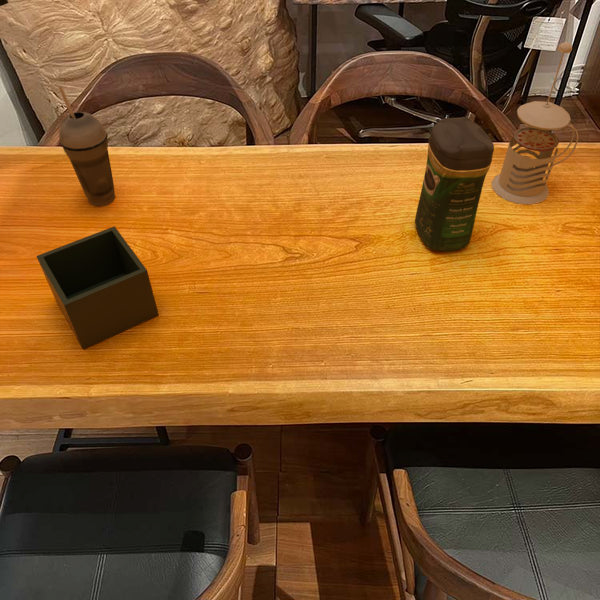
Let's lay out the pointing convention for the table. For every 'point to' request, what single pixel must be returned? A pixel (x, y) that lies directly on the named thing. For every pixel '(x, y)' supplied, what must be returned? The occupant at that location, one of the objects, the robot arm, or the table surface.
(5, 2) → the robot arm
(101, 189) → the beverage cup
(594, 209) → the table surface
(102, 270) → the bin
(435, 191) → the coffee jar
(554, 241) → the table surface
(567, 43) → the french press
